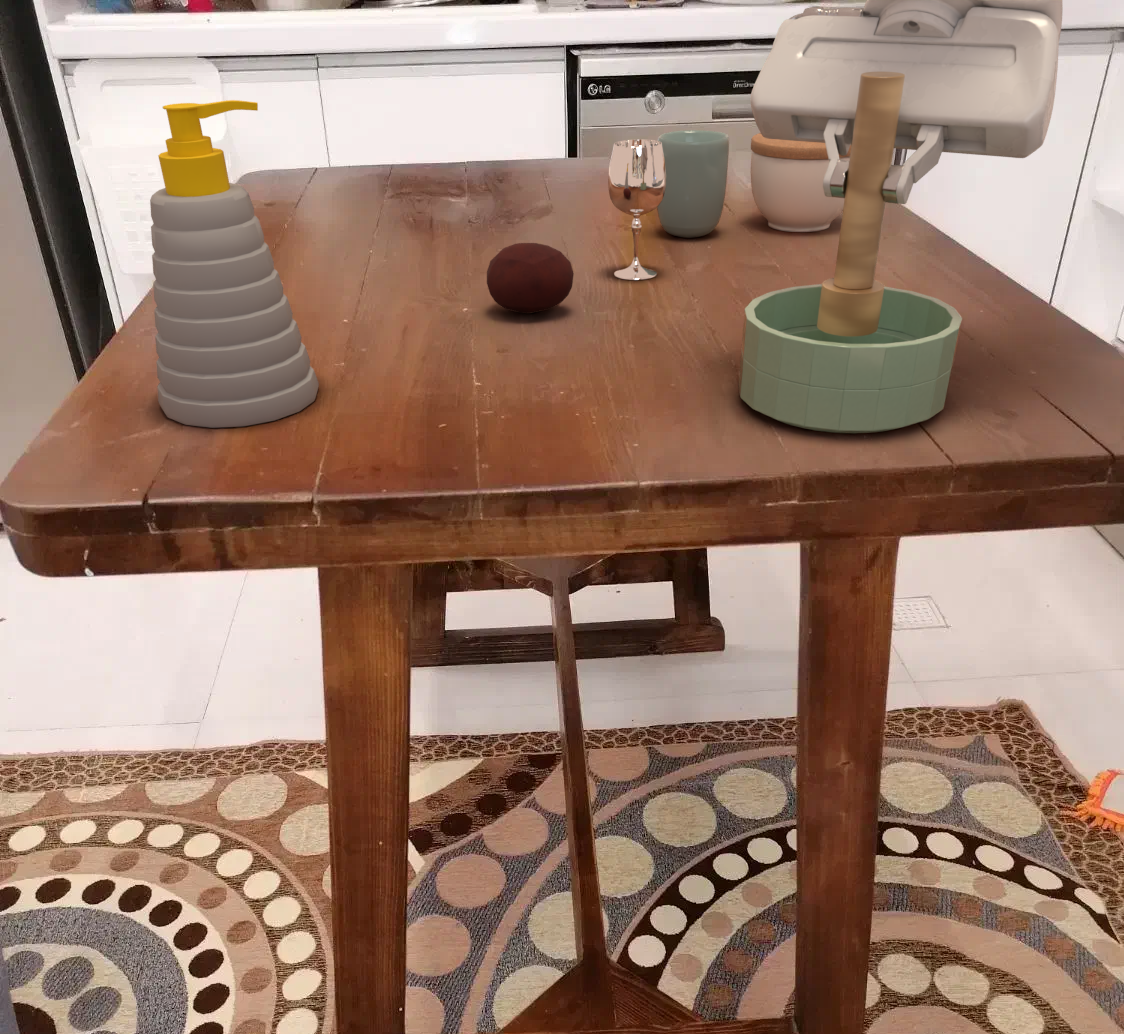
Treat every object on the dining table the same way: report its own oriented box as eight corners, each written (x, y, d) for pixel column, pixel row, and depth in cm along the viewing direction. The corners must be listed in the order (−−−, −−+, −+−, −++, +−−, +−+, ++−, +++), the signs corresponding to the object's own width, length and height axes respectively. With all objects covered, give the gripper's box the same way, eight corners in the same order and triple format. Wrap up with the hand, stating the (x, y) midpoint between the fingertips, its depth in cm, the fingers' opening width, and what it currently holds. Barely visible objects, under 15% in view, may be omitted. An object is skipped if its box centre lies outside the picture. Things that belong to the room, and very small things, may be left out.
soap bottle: (327, 417, 84) (279, 110, 71) (157, 437, 81) (77, 123, 69) (313, 365, 93) (268, 87, 81) (161, 381, 91) (91, 97, 78)
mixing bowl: (921, 366, 90) (936, 283, 86) (964, 439, 78) (984, 346, 74) (732, 366, 91) (738, 284, 87) (745, 438, 79) (753, 346, 75)
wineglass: (612, 266, 116) (613, 138, 109) (666, 267, 115) (671, 138, 108) (603, 280, 112) (603, 148, 104) (659, 282, 111) (663, 149, 103)
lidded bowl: (803, 208, 136) (814, 105, 129) (876, 227, 127) (892, 118, 120) (723, 222, 131) (729, 116, 124) (793, 243, 122) (805, 131, 115)
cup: (642, 237, 126) (644, 138, 120) (676, 223, 131) (680, 128, 125) (702, 245, 122) (707, 144, 116) (734, 230, 127) (741, 133, 121)
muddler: (872, 318, 82) (910, 69, 73) (882, 336, 79) (924, 78, 69) (813, 318, 83) (843, 70, 73) (820, 336, 79) (853, 78, 69)
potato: (539, 329, 100) (537, 259, 96) (470, 314, 104) (465, 246, 100) (586, 309, 104) (586, 241, 101) (518, 295, 108) (516, 230, 105)
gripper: (779, -28, 77) (712, 152, 76) (1087, -24, 69) (1016, 177, 68) (794, 41, 83) (732, 209, 82) (1080, 52, 74) (1014, 239, 74)
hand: (863, 195), depth 75 cm, fingers closed on muddler, 3 cm apart
